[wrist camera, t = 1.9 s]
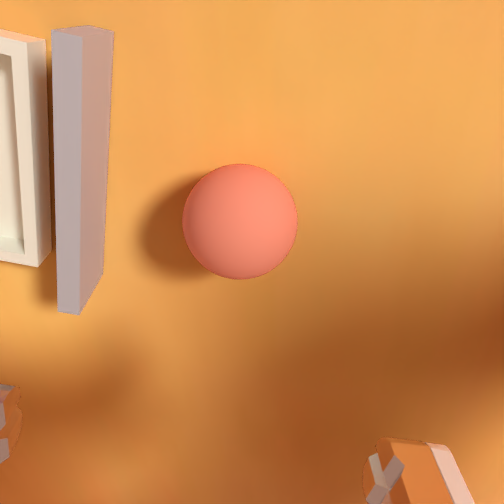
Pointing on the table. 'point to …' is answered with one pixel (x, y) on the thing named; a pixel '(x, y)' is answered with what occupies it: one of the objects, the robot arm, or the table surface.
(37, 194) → the tray
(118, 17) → the table surface
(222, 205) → the ball
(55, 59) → the bar
